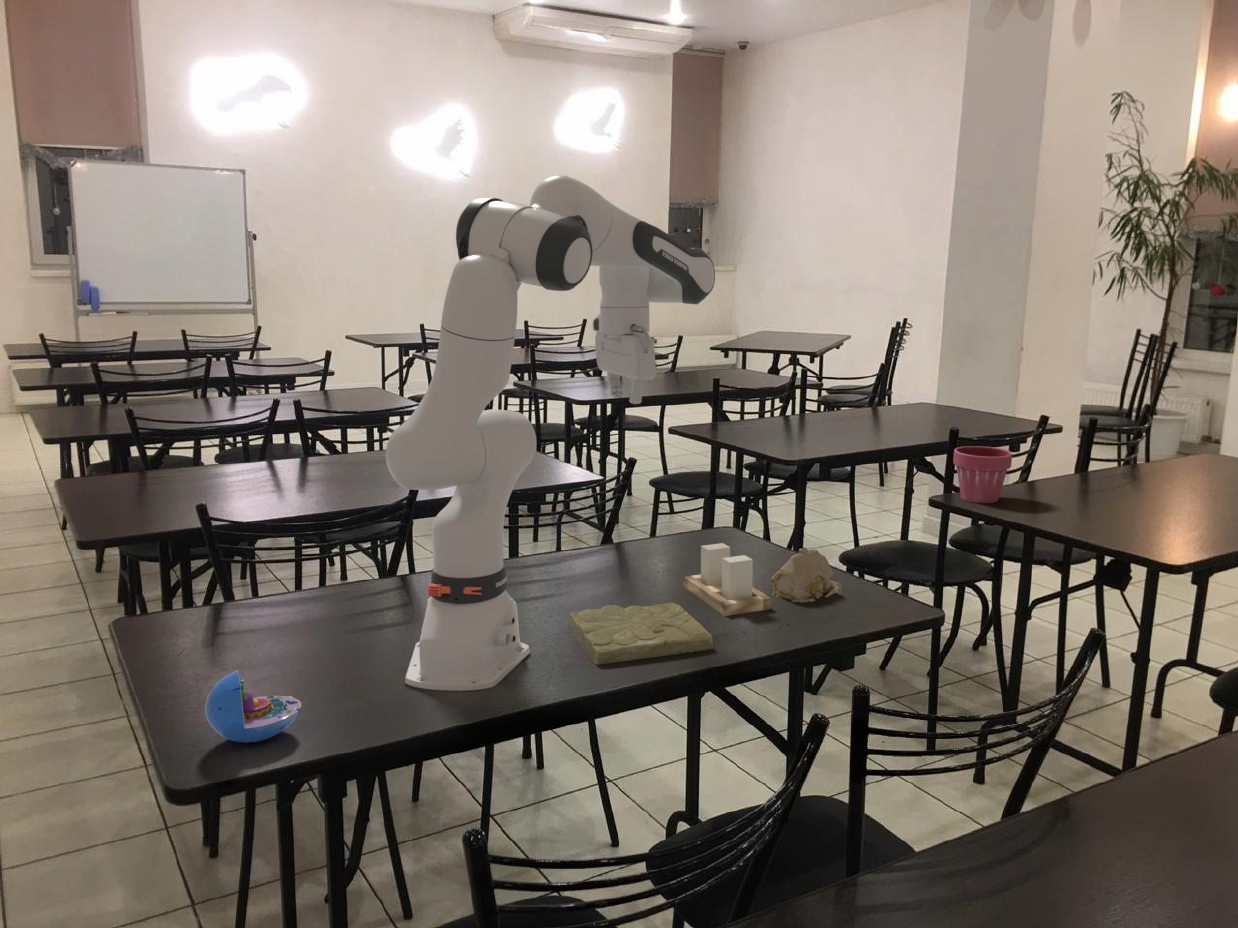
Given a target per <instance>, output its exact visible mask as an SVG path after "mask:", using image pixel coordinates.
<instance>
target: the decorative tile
mask: <svg viewBox="0 0 1238 928" xmlns="http://www.w3.org/2000/svg"><path fill="white" fill-rule="evenodd" d="M567 625H568V628H569V630H570V631H571V633H572V635H573V636H574V637H575V639H576V640H577V642H578V644H579V645H580V646H581V647H582V649H583V650H584V652H585V653H586V654H587V655H588V657H589V658H590V659H591V661H592V663H594V665H597V666H598V665H605V664H611V663H612V664H613V663H619V662H627V661H628V662H629V661H635V660H642V659H643V658H644V659H650V658H656V657H666V656H671V655H673V656H674V655H681V654H686V653H687V652H689V653H695V652H694V651H696V652H701V651H700V650H703V651H707V650H706V649H711V650H713V649H714V643H713V641H714V639H713V636H712V635H711V633H709V631H708V630H707V629H706V628H704V626H703V625H702V624H701V623H700V622H699V621H697V620H696V619H695V618H694V617H693V616H691V614H689V613H688V612H687V611H686V610H685V609H684V608H683V607H681V606H680V604H676V603H675V602H665V603H660V604H654V605H647V606H640V605H630V606H627V607H622V606H620V605H614V604H613V605H612V604H607V605H604V606H602V608H587V609H584V610H582V611H577V612H570V613H569V618H568V624H567ZM680 653H681V654H680Z"/></svg>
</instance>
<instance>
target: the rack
mask: <svg viewBox="0 0 1238 928" xmlns="http://www.w3.org/2000/svg"><path fill="white" fill-rule="evenodd" d="M683 588H684V589H686V590H687V591H688V592H689V593H692V594H693V595H694V596H696V597H697V598H699V599H700V600H702V601H703V602H704V603H706V604H707V605H709V606H710V607H711V608H713V609H714V610H716V611H717V612H719V613H720V614H722V615H723V616H725V617H726V616H733V615H741V614H747V613H753V612H760V611H767V610H771V609H772V603H771V602H772V598H771V597H770V596H769V595H766V594H765V593H764V592H762V591H760V590H759V589H758V588H755V587H754V586H752V597H749V598H742V599H735V600H727V599H725V598H724V597H722V584H719V585H712V586H706V585H704V584H703V583H701V573H700V574H694V575H693V574H692V575H687V576H686V575H685V576H683Z"/></svg>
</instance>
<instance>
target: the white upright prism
mask: <svg viewBox="0 0 1238 928" xmlns="http://www.w3.org/2000/svg"><path fill="white" fill-rule="evenodd" d="M727 557H731V547H730V546H729V545H727V544H725V543H724V542H722V543H721V542H719V543H712V544H705V545H703V544H702V545H700V574H701V583H703V584H704V585H706V586H712V585H719V584H722V558H727Z"/></svg>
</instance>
